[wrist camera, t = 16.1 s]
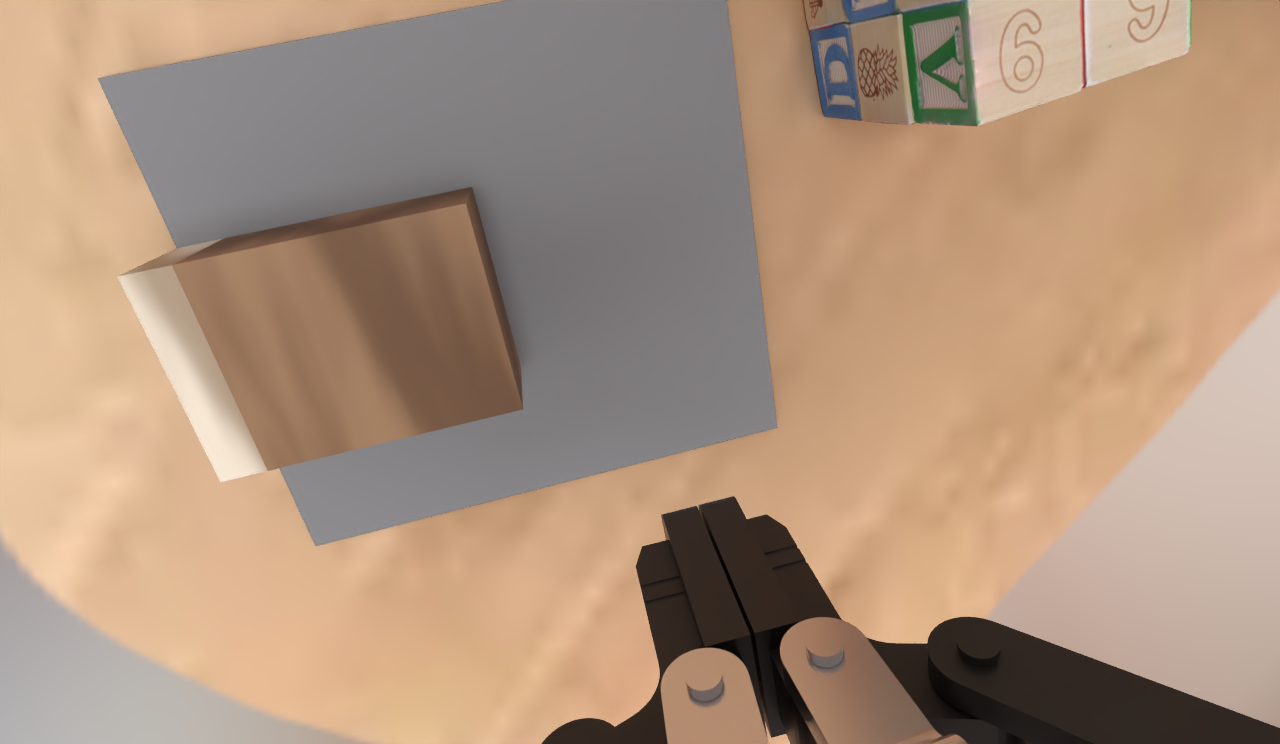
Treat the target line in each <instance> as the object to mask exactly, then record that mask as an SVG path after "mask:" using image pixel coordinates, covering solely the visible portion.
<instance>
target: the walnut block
mask: <svg viewBox="0 0 1280 744" xmlns="http://www.w3.org/2000/svg"><path fill="white" fill-rule="evenodd" d="M118 279H119V281H120V283H121V285H122V287H123V289H124V291H125V293H126V295H127V297H128V299H129V301H130V303H131V305H132V307H133V309H134V311H135V313H136V315H137V317H138V319H139V321H140V323H141V325H142V327H143V329H144V331H145V333H146V335H147V337H148V339H149V341H150V343H151V345H152V347H153V349H154V351H155V353H156V355H157V357H158V359H159V361H160V363H161V365H162V367H163V369H164V371H165V373H166V375H167V377H168V379H169V380H170V382H171V384H172V386H173V388H174V390H175V392H176V394H177V396H178V398H179V400H180V402H181V404H182V406H183V408H184V410H185V412H186V414H187V416H188V418H189V420H190V422H191V424H192V426H193V428H194V430H195V432H196V434H197V436H198V438H199V440H200V442H201V444H202V446H203V448H204V450H205V452H206V454H207V456H208V458H209V460H210V462H211V464H212V466H213V468H214V470H215V472H216V474H217V476H218V478H219V480H220V482H223V481H227V480H232V479H236V478H240V477H244V476H248V475H252V474H257V473H261V472H265V471H269V470H273V469H277V468H282V467H286V466H290V465H294V464H298V463H302V462H307V461H311V460H315V459H319V458H323V457H327V456H332V455H336V454H340V453H344V452H348V451H352V450H357V449H361V448H365V447H369V446H373V445H377V444H382V443H386V442H390V441H394V440H398V439H402V438H407V437H411V436H415V435H419V434H423V433H427V432H432V431H436V430H440V429H444V428H448V427H452V426H457V425H461V424H465V423H469V422H473V421H477V420H482V419H486V418H490V417H494V416H498V415H502V414H507V413H511V412H515V411H519V410H523V396H522V376H521V365H520V361H519V357H518V354H517V350H516V346H515V343H514V339H513V335H512V332H511V328H510V324H509V321H508V317H507V313H506V309H505V306H504V302H503V298H502V295H501V291H500V287H499V284H498V280H497V276H496V273H495V269H494V265H493V262H492V258H491V254H490V251H489V247H488V243H487V240H486V236H485V232H484V229H483V225H482V221H481V218H480V214H479V210H478V207H477V203H476V199H475V196H474V192H473V188H472V187H468V188H464V189H459V190H454V191H449V192H444V193H440V194H435V195H430V196H425V197H420V198H416V199H411V200H406V201H401V202H396V203H392V204H387V205H382V206H377V207H372V208H367V209H363V210H358V211H353V212H348V213H343V214H339V215H334V216H329V217H324V218H319V219H315V220H310V221H305V222H300V223H295V224H291V225H286V226H281V227H276V228H271V229H266V230H262V231H257V232H252V233H247V234H242V235H238V236H233V237H228V238H223V239H218V240H214V241H209V242H204V243H199V244H194V245H190V246H185V247H180V248H177V249H175V250H173V251H171V252H169V253H166V254H164V255H162V256H160V257H158V258H156V259H154V260H152V261H149V262H147V263H145V264H143V265H141V266H139V267H137V268H135V269H132V270H130V271H128V272H126V273H124V274H122V275H120V276H118Z"/></svg>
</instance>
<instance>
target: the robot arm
mask: <svg viewBox="0 0 1280 744" xmlns="http://www.w3.org/2000/svg"><path fill="white" fill-rule="evenodd" d="M661 517H662V522H663V527H664V532H665V537H666V541H662V542H658V543H654V544H650V545H646V546H643V547H642V549H641V552H640V555H639V558H638V561H637V564H636V569H637V573H638V578H639V582H640V586H641V590H642V594H643V599H644V603H645V607H646V611H647V616H648V620H649V624H650V628H651V633H652V637H653V641H654V645H655V650H656V654H657V658H658V662H659V668H660V679H659V683H658V686H657V689H656V691H655V693H654V695H653V696H652V698H651V700H650V701H649V702H648V703H647V704H646V706H644V707H643V708H642V709H641V710H640V711H639V712H638V713H636V714H635V715H633V716H632V717H630V718H629V719H627V720H626V721H624V722H622V723H621V724H619V725H618V726H616V727H614V726H613V725H611V724H610V723H608V722H606V721H603V720H600V719H594V718H585V719H578V720H574V721H571V722H569V723H566V724H564V725H562V726H561V727H559V728H557V729H556V730H555V731H553V732H552V733H551V734H550V735H549V736H548V737H547V738H546V739H545V740H544V741H543V743H542V744H769V743H768V739H767V733H766V727H765V722H766V725H767V728H768V730H769V733H770V736H771V738H772V737H776V736H779V735H783V734H787V736H788V739H789V741H790V744H1280V728H1278V727H1275V726H1272V725H1270V724H1267V723H1264V722H1262V721H1259V720H1256V719H1253V718H1251V717H1248V716H1245V715H1243V714H1240V713H1237V712H1235V711H1232V710H1229V709H1226V708H1224V707H1221V706H1219V705H1216V704H1213V703H1210V702H1208V701H1205V700H1203V699H1200V698H1197V697H1194V696H1192V695H1189V694H1186V693H1184V692H1181V691H1178V690H1176V689H1173V688H1170V687H1167V686H1165V685H1162V684H1159V683H1157V682H1154V681H1152V680H1149V679H1146V678H1143V677H1141V676H1138V675H1135V674H1133V673H1130V672H1127V671H1125V670H1122V669H1119V668H1117V667H1114V666H1111V665H1108V664H1106V663H1103V662H1100V661H1098V660H1095V659H1093V658H1090V657H1087V656H1084V655H1082V654H1079V653H1076V652H1074V651H1071V650H1068V649H1066V648H1063V647H1060V646H1058V645H1055V644H1052V643H1050V642H1047V641H1044V640H1042V639H1039V638H1036V637H1034V636H1031V635H1028V634H1025V633H1023V632H1020V631H1017V630H1015V629H1012V628H1009V627H1007V626H1004V625H1001V624H999V623H996V622H993V621H990V620H987V619H982V618H976V617H959V618H953V619H950V620H947V621H944V622H943V623H941V624H939V625H938V626H937V627H935V628H934V630H933V631H932V632H931V634H930V636H929V638H928V643H927V644H896V643H885V642H879V641H875V640H872V639H869V638H867V637H865V635H864V634H863V633H862V632H861V631H860V630H859V629H857V628H856V627H855V626H853V625H851V624H850V623H847V622H845V621H843V620H842V619H841V618H840V616H839V615H838V613H837V612H836V610H835V608H834V607H833V605H832V603H831V602H830V600H829V598H828V597H827V595H826V593H825V592H824V590H823V588H822V587H821V585H820V583H819V582H818V580H817V578H816V577H815V575H814V573H813V572H812V570H811V568H810V567H809V565H808V563H806V561H805V558H804V557H803V555H802V553H801V552H800V550H799V548H797V545H796V543H795V542H794V540H793V538H792V537H791V535H790V533H789V532H788V530H787V528H786V527H785V526H783V525H782V524H780V523H779V522H777V521H776V520H774V519H773V518H771V517H770V516H768V515H767V514H766V515H762V516H758V517H755V518H751V519H746V517H745V515H744V513H743V511H742V509H741V508H740V506H739V504H738V502H737V500H736V498H735V497H734V496H733V497H729V498H725V499H721V500H717V501H713V502H709V503H705V504H702V505H699V510H698V508H697V506H694V507H690V508H686V509H682V510H679V511H675V512H671V513H667V514H663V515H661Z"/></svg>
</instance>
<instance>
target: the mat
mask: <svg viewBox="0 0 1280 744" xmlns="http://www.w3.org/2000/svg"><path fill="white" fill-rule="evenodd" d="M98 80H99V82H100V84H101V86H102V89H103V91H104V93H105V95H106V97H107V99H108V102H109V104H110V106H111V108H112V110H113V112H114V114H115V117H116V119H117V121H118V123H119V125H120V127H121V129H122V132H123V134H124V136H125V138H126V140H127V142H128V144H129V147H130V149H131V151H132V153H133V155H134V157H135V159H136V162H137V164H138V166H139V168H140V170H141V172H142V175H143V177H144V179H145V181H146V183H147V185H148V187H149V190H150V192H151V194H152V196H153V198H154V200H155V202H156V205H157V207H158V209H159V211H160V213H161V215H162V217H163V220H164V222H165V224H166V226H167V228H168V230H169V232H170V235H171V237H172V239H173V241H174V243H175V245H176V248H180V247H185V246H190V245H194V244H199V243H204V242H209V241H214V240H218V239H223V238H228V237H233V236H238V235H242V234H247V233H252V232H257V231H262V230H266V229H271V228H276V227H281V226H286V225H291V224H295V223H300V222H305V221H310V220H315V219H319V218H324V217H329V216H334V215H339V214H343V213H348V212H353V211H358V210H363V209H367V208H372V207H377V206H382V205H387V204H392V203H396V202H401V201H406V200H411V199H416V198H420V197H425V196H430V195H435V194H440V193H444V192H449V191H454V190H459V189H464V188H468V187H472V188H473V192H474V196H475V199H476V203H477V207H478V210H479V214H480V218H481V221H482V225H483V229H484V232H485V236H486V240H487V243H488V247H489V251H490V254H491V258H492V262H493V265H494V269H495V273H496V276H497V280H498V284H499V287H500V291H501V295H502V298H503V302H504V306H505V309H506V313H507V317H508V321H509V324H510V328H511V332H512V335H513V339H514V343H515V346H516V350H517V354H518V357H519V361H520V365H521V376H522V396H523V410H519V411H515V412H511V413H507V414H502V415H498V416H494V417H490V418H486V419H482V420H477V421H473V422H469V423H465V424H461V425H457V426H452V427H448V428H444V429H440V430H436V431H432V432H427V433H423V434H419V435H415V436H411V437H407V438H402V439H398V440H394V441H390V442H386V443H382V444H377V445H373V446H369V447H365V448H361V449H357V450H352V451H348V452H344V453H340V454H336V455H332V456H327V457H323V458H319V459H315V460H311V461H307V462H302V463H298V464H294V465H290V466H286V467H282V468H279V469H280V471H281V473H282V475H283V477H284V479H285V482H286V484H287V486H288V488H289V490H290V492H291V494H292V497H293V499H294V501H295V503H296V505H297V507H298V509H299V512H300V514H301V516H302V518H303V520H304V522H305V524H306V527H307V529H308V531H309V533H310V535H311V537H312V540H313V542H314V544H315V546H319V545H323V544H327V543H330V542H334V541H338V540H342V539H346V538H350V537H354V536H358V535H362V534H366V533H369V532H373V531H377V530H381V529H385V528H389V527H393V526H397V525H401V524H404V523H408V522H412V521H416V520H420V519H424V518H428V517H432V516H436V515H439V514H443V513H447V512H451V511H455V510H459V509H463V508H467V507H471V506H475V505H478V504H482V503H486V502H490V501H494V500H498V499H502V498H506V497H510V496H513V495H517V494H521V493H525V492H529V491H533V490H537V489H541V488H545V487H549V486H552V485H556V484H560V483H564V482H568V481H572V480H576V479H580V478H584V477H587V476H591V475H595V474H599V473H603V472H607V471H611V470H615V469H619V468H622V467H626V466H630V465H634V464H638V463H642V462H646V461H650V460H654V459H658V458H661V457H665V456H669V455H673V454H677V453H681V452H685V451H689V450H693V449H696V448H700V447H704V446H708V445H712V444H716V443H720V442H724V441H728V440H732V439H735V438H739V437H743V436H747V435H751V434H755V433H759V432H763V431H767V430H770V429H774V428H777V421H776V412H775V404H774V395H773V387H772V378H771V370H770V361H769V353H768V345H767V336H766V328H765V319H764V311H763V302H762V294H761V285H760V277H759V268H758V260H757V251H756V243H755V234H754V226H753V217H752V209H751V201H750V192H749V184H748V175H747V167H746V158H745V150H744V141H743V133H742V124H741V116H740V107H739V99H738V90H737V82H736V74H735V65H734V57H733V48H732V40H731V31H730V23H729V14H728V6H727V0H506V1H501V2H496V3H491V4H485V5H480V6H475V7H470V8H464V9H459V10H454V11H449V12H443V13H438V14H433V15H428V16H422V17H417V18H412V19H407V20H401V21H396V22H391V23H386V24H380V25H375V26H370V27H365V28H359V29H354V30H349V31H344V32H338V33H333V34H328V35H323V36H317V37H312V38H307V39H302V40H296V41H291V42H286V43H281V44H275V45H270V46H265V47H260V48H254V49H249V50H244V51H239V52H233V53H228V54H223V55H218V56H212V57H207V58H202V59H197V60H191V61H186V62H181V63H176V64H170V65H165V66H160V67H155V68H149V69H144V70H139V71H134V72H128V73H123V74H118V75H113V76H107V77H102V78H98Z"/></svg>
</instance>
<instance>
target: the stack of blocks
mask: <svg viewBox="0 0 1280 744" xmlns="http://www.w3.org/2000/svg"><path fill="white" fill-rule="evenodd" d="M803 1H804V8H805V14H806V20H807V24H808V28H809V30H810V38H811V46H812V52H813V58H814V65H815V70H816V75H817V81H818V87H819V93H820V98H821V105H822V110H823V114H824V116H825V117H829V118H840V119H851V120H859V121H861V120H865V121H867V122H877V123H890V124H914V123H920V124H940V125H963V126H979V125H982V124H985V123H988V122H991V121H994V120H997V119H1000V118H1003V117H1006V116H1009V115H1012V114H1015V113H1018V112H1021V111H1024V110H1027V109H1030V108H1032V107H1035V106H1038V105H1041V104H1044V103H1048V102H1051V101H1054V100H1057V99H1060V98H1063V97H1066V96H1069V95H1072V94H1075V93H1078V92H1080V91H1081V89H1082V88H1085V87H1089V86H1092V85H1095V84H1099V83H1102V82H1105V81H1108V80H1111V79H1114V78H1117V77H1120V76H1123V75H1126V74H1129V73H1132V72H1135V71H1138V70H1140V69H1143V68H1146V67H1149V66H1153V65H1156V64H1159V63H1161V62H1164V61H1167V60H1170V59H1174V58H1176V57H1179V56H1182V55H1184V54H1187V53H1188V52H1189V49H1190V44H1191V0H803Z"/></svg>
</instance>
